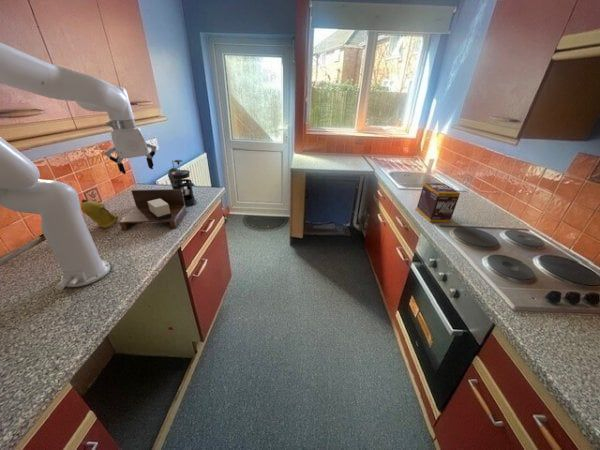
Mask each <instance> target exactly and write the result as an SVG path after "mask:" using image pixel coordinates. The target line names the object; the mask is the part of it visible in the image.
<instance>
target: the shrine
mask: <svg viewBox="0 0 600 450" xmlns="http://www.w3.org/2000/svg"><path fill="white" fill-rule="evenodd" d="M80 208H81V212H82V214H86V216H88V217H89V218H90V219H91V220H92V221H93V222H94V223H96V224H97V225H98V226H99V228H101V229H106V228H107V229H108V228H109V227H110V226H114V225H115V224H116V223H117V222H118V220H119V216H118V215H117V214H115V213H112V212H110V211H109V210H108V209H107V208H106V207H105V205H104V204H102V203H101V202H98V201H95V200H88V199H82V200H81V202H80Z"/></svg>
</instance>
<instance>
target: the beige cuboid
mask: <svg viewBox="0 0 600 450" xmlns="http://www.w3.org/2000/svg"><path fill="white" fill-rule="evenodd" d="M147 202H148V206H149V209H148V211H149V213H151V214H152V215H153V216H154V217H156V218H157V219H158V220H162V219H166V218H169V217H172V215H171V213H170V209H169V205H168V203H166V202H165V201H163V200H162V199H160V198H159V199H155V200H151V201H147Z"/></svg>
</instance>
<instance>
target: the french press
mask: <svg viewBox="0 0 600 450" xmlns="http://www.w3.org/2000/svg"><path fill="white" fill-rule="evenodd" d="M172 161H173V163H177V166H178V169H179V170H177V171H173V172H171V175H172V178H174V179H179V180H175V181H173V188H174V189H180V188H179V187H183V190H182V193H183V197H184V202H185V207H191V206H194V205H196V203H197V201H196V198H195V195H194V190H193V185H192V184H193V181H192V180H191V179H189V178H190V175H191V174H190V173H191V171H190V170H187V169H181V168H180V163H182V162H183V160H182V159H175V160H172ZM178 182H182V184H181V185H178V184H176V183H178ZM184 182H185V183H184ZM185 187H186V188H185ZM173 188H172V189H173Z"/></svg>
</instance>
